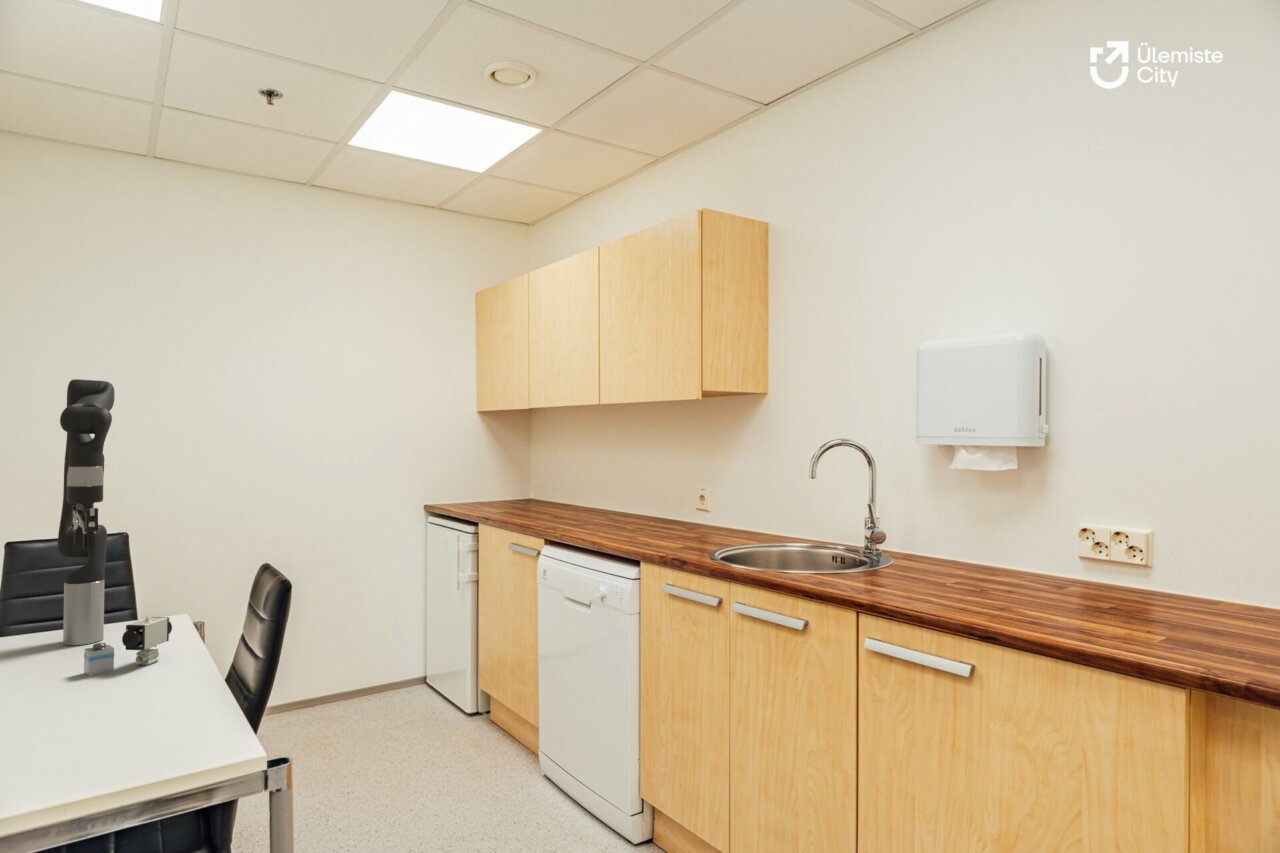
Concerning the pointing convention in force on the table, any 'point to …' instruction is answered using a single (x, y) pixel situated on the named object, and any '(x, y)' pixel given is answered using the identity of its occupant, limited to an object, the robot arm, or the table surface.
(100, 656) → the grey box with knob
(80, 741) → the table surface
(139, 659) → the pneumatic valve
